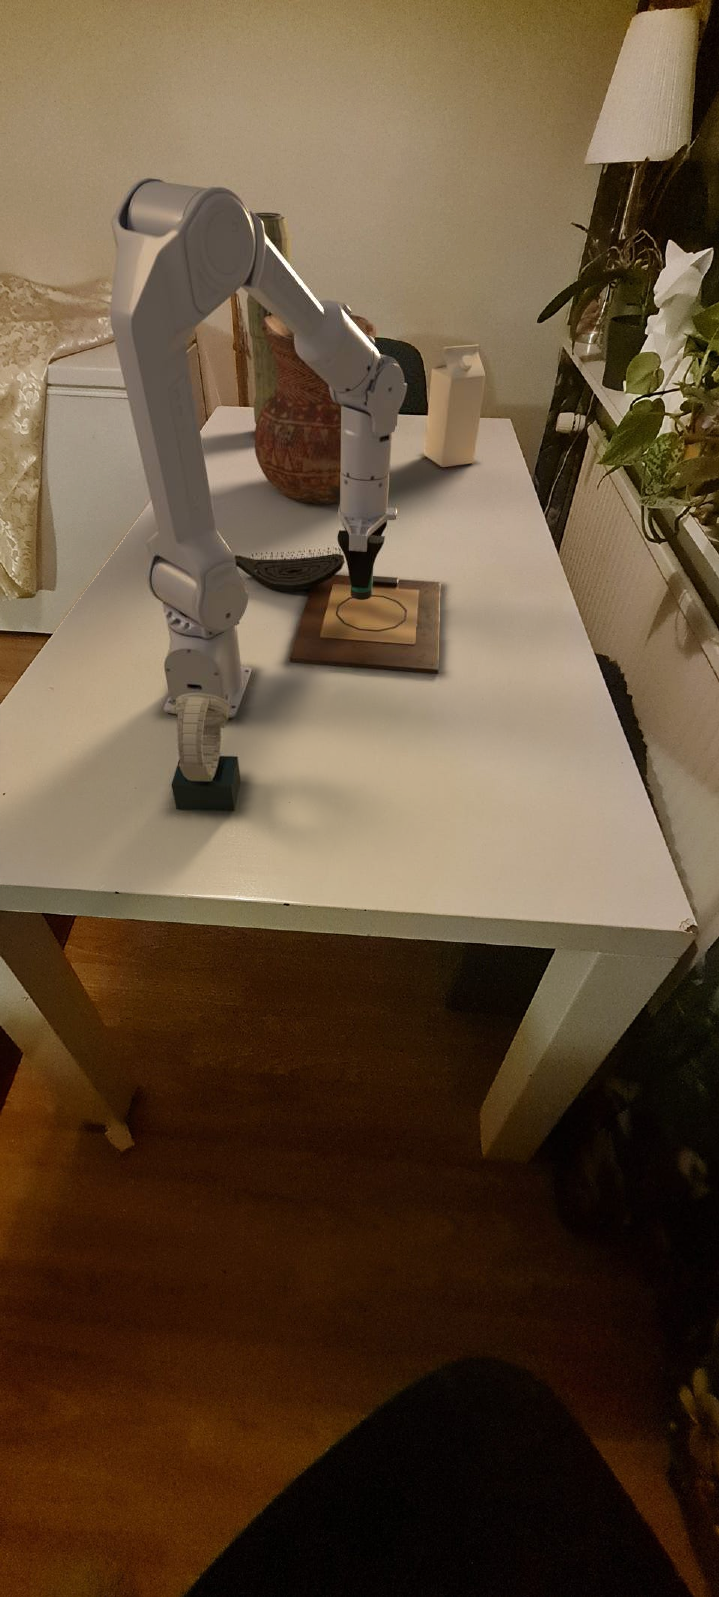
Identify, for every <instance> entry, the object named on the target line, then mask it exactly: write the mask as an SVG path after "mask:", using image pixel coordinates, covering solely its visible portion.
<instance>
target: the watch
mask: <svg viewBox="0 0 719 1597" xmlns="http://www.w3.org/2000/svg"><path fill="white" fill-rule="evenodd" d="M229 711H230V704H229V703H228V702H227V701H226V700H224V699H223V698H220V697H218V696H215V695H211V694H205V693H187V694H183V695H180V696H179V697H177V699H176V705H172V706H171V713H170V714H172V715H173V714H174V715H176V716H177V721H176V722H177V723H176V724H177V726H176V730H177V733H176V734H177V749H178V750H177V751H178V761H177V764H176V765H177V766H176V768H175V771H174V775H173V778H172V781H171V790H172V796H173V800H174V805H175V809H176V810H196V811H197V810H198V811H227V812H235V809H236V804H237V799H238V795H239V789H240V786H241V772H240V764H239V756H237V755H233V756H232V755H220V754H221V746H222V743H221V742H222V729H225V727H226V723H227V722H228V719H229V718H228V717H229Z"/></svg>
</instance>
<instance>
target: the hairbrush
mask: <svg viewBox="0 0 719 1597" xmlns="http://www.w3.org/2000/svg"><path fill="white" fill-rule="evenodd" d="M334 549H335V553H334V552H332V551H331V550H330V547H327V554H325V555H324V552H325V551H326V549H323V551H324V552H322V553H321V552H320V551H321V549H320V548H319V549H318V552H317V555H316V554H315V552H316V550H315V549H314V550H313V552H311V551H312V550H311V549H309V550H308V555H306V557H305V556H304V553H305V550H303V553H302V550H299V553H301V555H300V557H299V554H298V553H297V554H296V556H294V554H295V551H293V554H291V557H290V556H289V554H290V553H289V551H287V554H286V557H284V554H283V552H280V554H281V555H280V558H278V556H279V552H277V554H276V555H275V558H274V555H273V552H270V554H271V555H269V558H270V559H268V558H267V556H262V557H260V559H254V558H252V557H254V554H253V553H252V554H251V556H248V557H247V556H243V555H240V554H239V555H237V554H233V555H234V556H235V560H236V566H237V568H239V569H241V571H243V572H244V573H245V574H247V575H248V576H250V577H251V578H253V579H254V580H255V581H256V582H258V583H259V584H261V585H262V586H265V587H268V588H271V589H274V590H275V591H276V590H277V591H289V592H294V591H299V590H305V589H306V590H307V589H310V588H311V587H313V586H315V585H318V584H320V583H322V582H324V581H326V580H328V579H330V578H331V577H333V576H334V575H337V573H339V572H340V571H341V570H342V569H343V566H344V564H345V562H346V560H345V556H344V554H342V553H341V552H342V549H341V548H340V547H338V548H337V547H335V548H334ZM337 550H338V551H339V553H337ZM330 553H331V554H330ZM266 554H268V551H266ZM255 555H256V556H257V555H258V553H257V552H256V553H255ZM260 555H263V552H261V553H260ZM293 556H294V557H293ZM287 557H288V558H287ZM292 557H293V558H292Z"/></svg>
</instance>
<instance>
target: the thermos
mask: <svg viewBox="0 0 719 1597" xmlns="http://www.w3.org/2000/svg"><path fill="white" fill-rule="evenodd" d="M253 213H254V214H255V215H256V216H258V217H259V218H260V219H261V220H262V222H263V225H264V231H265V234H266V236H267V237H268V239H269V240H270V241H271V242H272V244H273V245H274V246H275V247H276V249H277V250H278V251H279V253H280V254H281V255H282V256H283V258H284V259H285V260H286V261H287V263H288V264H289V265H290V267H291V268H292V253H291V252H292V250H291V234H290V230H289V228H288V224H287V219H286V217H284V216H282V214H280V213H277V212H253ZM246 307H247V324H248V333H249V336H250V338H251V344H252V345H251V346H252V360H253V375H254V376H253V377H254V388H255V389H254V391H255V398H254V401H253V416H254V423H255V424H256V423H257V420H258V416H259V414H260V411H261V409H262V407H263V405H264V404H265V402H266V401H267V400H268V398H269V397H270V396H271V395H272V394H273V393H274V391H275V389H276V387H277V370H276V363H275V360H274V356H273V353H272V349H271V346H270V344H269V342H268V341H267V338H266V336H265V334H264V332H263V331H262V329H261V327H260V321H261V320H262V319H263V318H265V317H267V316H271V315H273V314H271V313H270V312H269V311H268V310H267V309H266V308H265V307H263V306H262V305H261V304H260V303H259V302H258V301H257V300H256V299H254V298H253V297H252V296H251V295H250V294H249V293H248V292H247V298H246Z"/></svg>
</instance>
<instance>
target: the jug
mask: <svg viewBox="0 0 719 1597" xmlns="http://www.w3.org/2000/svg"><path fill="white" fill-rule="evenodd" d="M349 318H350V319H351V320H352V321H353V322H354V323H355V324H356V326H357V327H358V328H359V329H360V330H361V331H362V332H363V334H365V335H369V336H371V337H372V338H373V339H374V340H375V339H376V336H377V328H376V326H375V325H374V324H373V323H372V322H369V320H368V319H366V317H363V316H359V315H355V314H351V315H350V317H349ZM260 327H261V329H262V331H263V332H264V334H265V336H266V338H267V341H268V342H269V344H270V346H271V349H272V353H273V356H274V360H275V363H276V370H277V387H276V389H275V391H274V393H273V394H272V395H271V396H270V397H269V398H268V400H267V401H266V402H265V404H264V405H263V407H262V409H261V411H260V414H259V416H258V420H257V423H255V427H254V428H255V429H254V452H255V456H256V461H257V462H258V465H259V467H260V470H261V472H262V474H263V475H264V477H265V479H266V480H267V482H268V483H270V484H271V486H272V487H273V488H274V489H276V490H277V491H278V492H279V493H281V494H282V495H284V496H285V497H288V498H290V499H291V500H296V501H299V502H304V503H309V504H318V505H327V504H328V505H329V504H334V503H335V504H336V503H340V472H341V406H342V405H340V404H338V403H335V402H334V401H333V400H332V398H331V395H330V391H329V385H328V384H327V383H326V382H325V381H324V380H323V379H322V378H321V377H320V376H319V375H318V374H317V373H316V372H315V371H314V370H312V369H311V368H310V367H309V366H308V365H307V364H306V363H305V362H304V361H303V360H302V359H301V358H300V357H299V356H298V354H297V352H296V350H295V345H294V333H293V332H292V331H291V330H290V329H289V328H287V327H286V326H285V325H284V324H283V323H282V322H281V321H279V320H278V319H277V318H276V317H275V316H274V315H271V316H267V317H265V318H263V319H262V320H261V321H260Z"/></svg>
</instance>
